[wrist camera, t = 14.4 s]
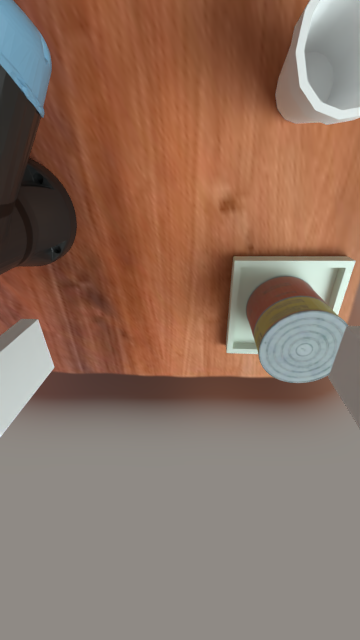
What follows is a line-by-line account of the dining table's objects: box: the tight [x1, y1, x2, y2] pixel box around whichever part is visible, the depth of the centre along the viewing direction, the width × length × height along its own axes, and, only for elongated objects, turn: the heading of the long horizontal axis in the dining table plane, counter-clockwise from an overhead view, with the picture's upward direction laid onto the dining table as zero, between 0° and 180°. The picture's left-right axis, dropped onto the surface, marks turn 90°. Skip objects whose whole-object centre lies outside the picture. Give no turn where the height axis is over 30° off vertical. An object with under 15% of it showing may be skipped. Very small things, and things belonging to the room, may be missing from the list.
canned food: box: [246, 275, 348, 383], centre depth 37 cm, size 11×11×12 cm
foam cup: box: [275, 0, 360, 125], centre depth 24 cm, size 10×9×13 cm
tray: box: [226, 256, 355, 354], centre depth 42 cm, size 17×17×2 cm
